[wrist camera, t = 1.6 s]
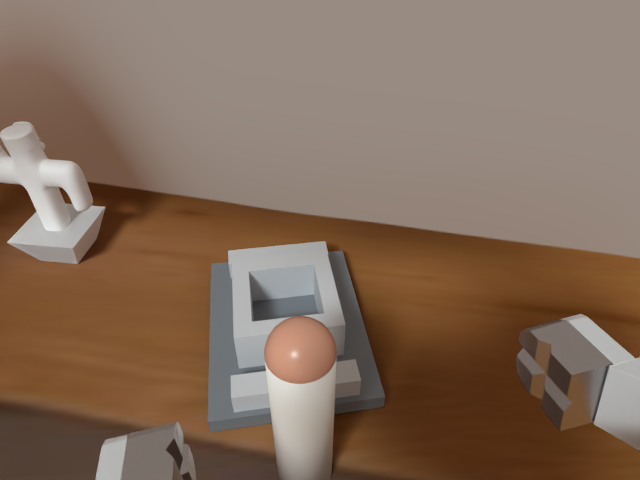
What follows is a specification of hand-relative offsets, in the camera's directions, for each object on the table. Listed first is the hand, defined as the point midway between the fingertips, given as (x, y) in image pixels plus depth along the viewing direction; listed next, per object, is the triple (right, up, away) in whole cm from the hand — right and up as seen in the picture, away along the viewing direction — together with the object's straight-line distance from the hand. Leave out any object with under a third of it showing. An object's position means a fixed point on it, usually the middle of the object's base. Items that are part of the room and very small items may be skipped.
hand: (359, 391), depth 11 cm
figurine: (-29, +2, +43) cm, 52 cm away
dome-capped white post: (-2, -13, +24) cm, 28 cm away
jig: (-4, -5, +34) cm, 35 cm away
